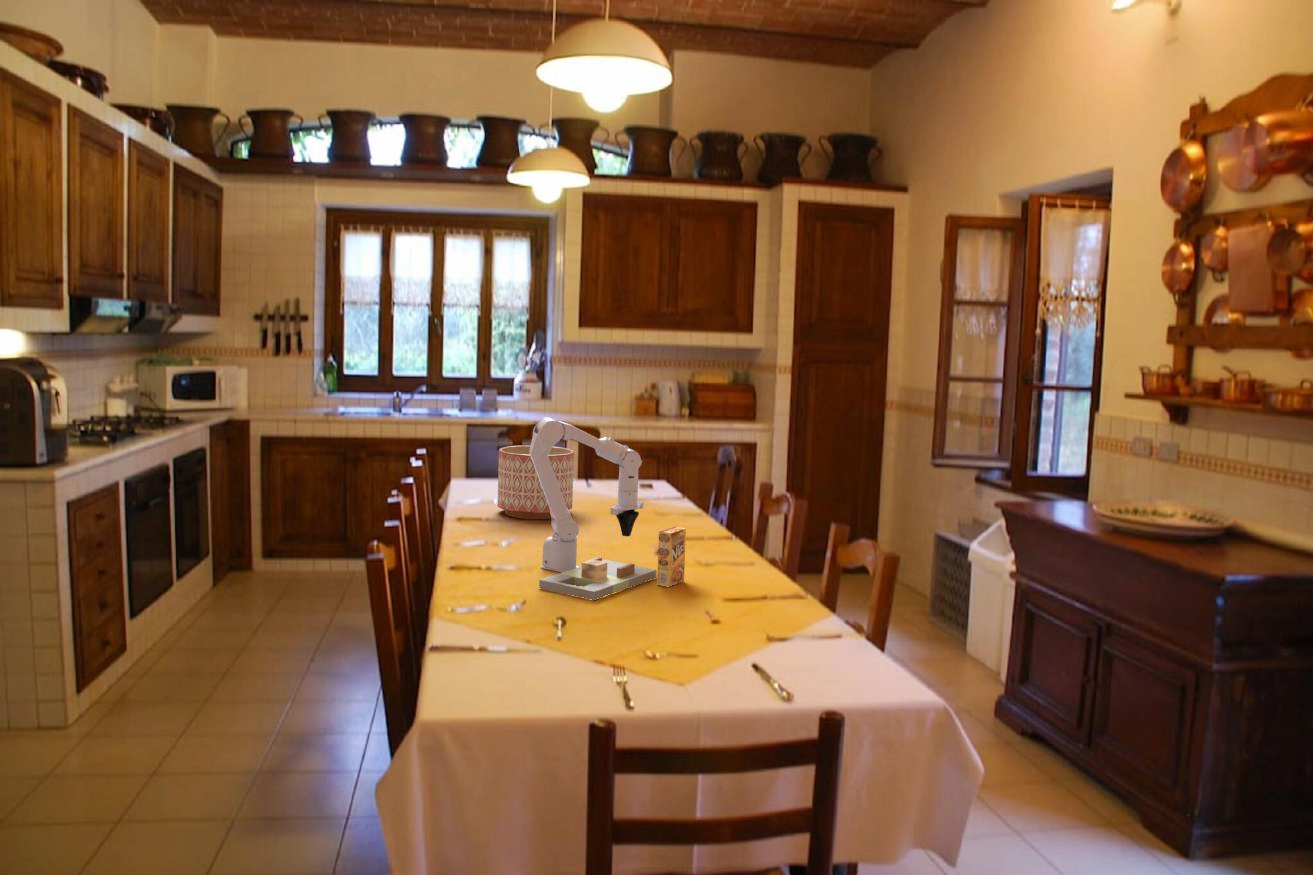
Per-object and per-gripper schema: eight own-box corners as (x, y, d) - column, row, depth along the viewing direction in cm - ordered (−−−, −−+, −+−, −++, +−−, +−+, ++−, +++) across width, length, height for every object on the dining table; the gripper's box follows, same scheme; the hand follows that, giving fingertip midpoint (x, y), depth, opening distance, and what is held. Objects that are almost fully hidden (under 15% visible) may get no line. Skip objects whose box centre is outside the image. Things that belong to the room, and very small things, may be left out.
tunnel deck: (539, 588, 265) (539, 570, 264) (604, 567, 290) (604, 551, 289) (593, 601, 255) (594, 582, 255) (656, 578, 280) (656, 561, 280)
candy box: (669, 588, 271) (671, 533, 269) (655, 585, 273) (658, 531, 271) (684, 581, 278) (687, 528, 277) (671, 579, 280) (673, 526, 279)
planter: (488, 508, 372) (490, 445, 370) (557, 505, 384) (559, 444, 381) (509, 522, 348) (511, 456, 345) (582, 519, 359) (584, 454, 357)
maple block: (581, 577, 269) (581, 562, 268) (592, 573, 273) (592, 559, 273) (596, 580, 266) (596, 565, 266) (606, 576, 270) (607, 562, 270)
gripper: (625, 494, 281) (623, 541, 283) (652, 488, 293) (650, 533, 295) (605, 491, 285) (603, 538, 286) (633, 485, 297) (631, 530, 299)
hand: (626, 535), depth 291 cm, fingers closed
